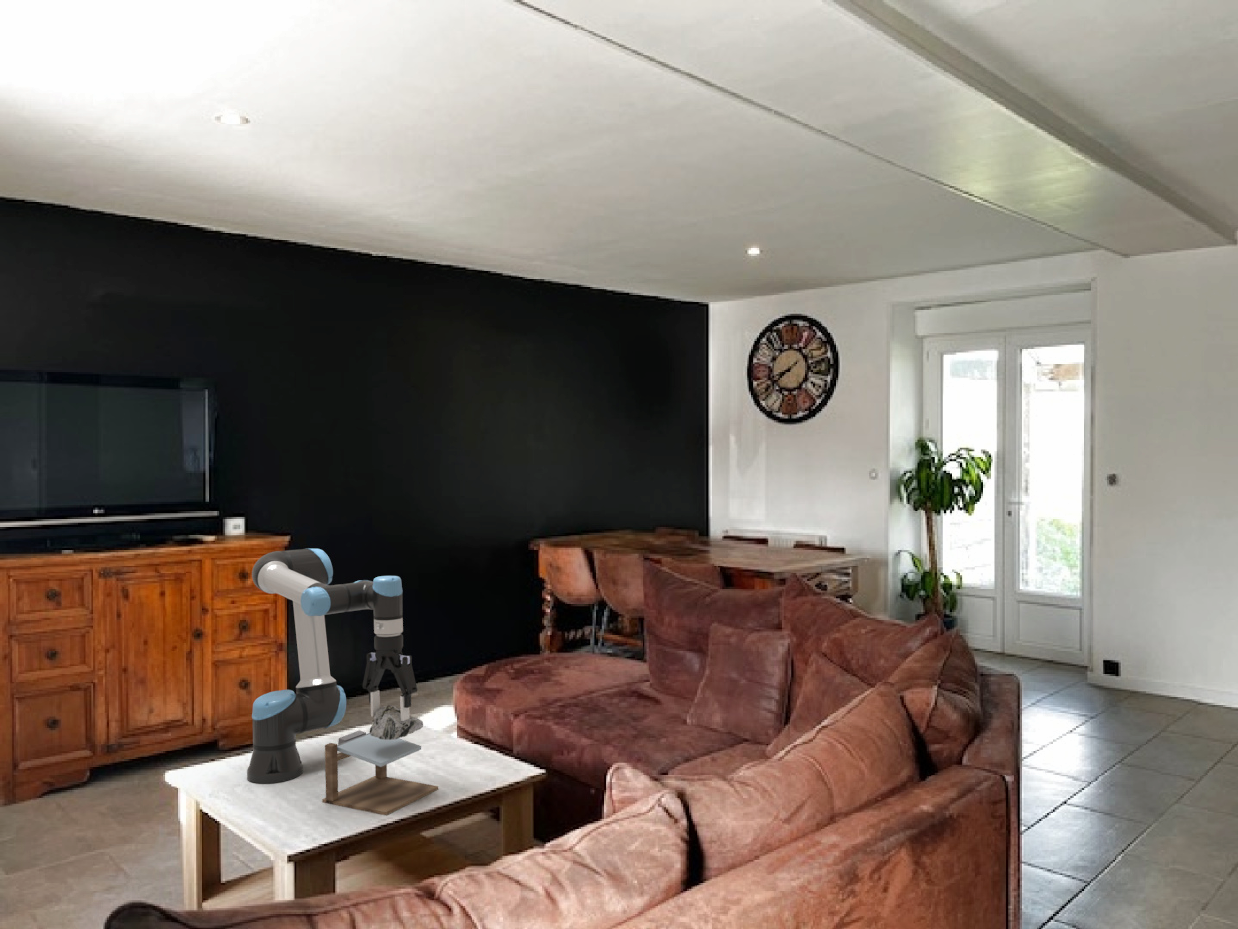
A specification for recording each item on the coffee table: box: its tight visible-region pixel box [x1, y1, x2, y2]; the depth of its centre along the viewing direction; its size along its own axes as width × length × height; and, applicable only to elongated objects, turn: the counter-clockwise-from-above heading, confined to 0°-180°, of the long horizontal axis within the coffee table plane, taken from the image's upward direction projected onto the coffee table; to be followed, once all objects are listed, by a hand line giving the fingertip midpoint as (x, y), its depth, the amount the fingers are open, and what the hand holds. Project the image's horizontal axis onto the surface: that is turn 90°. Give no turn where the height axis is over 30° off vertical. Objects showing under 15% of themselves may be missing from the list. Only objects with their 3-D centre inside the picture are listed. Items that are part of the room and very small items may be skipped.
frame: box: [321, 742, 439, 816], centre depth 252 cm, size 22×21×15 cm
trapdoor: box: [337, 729, 422, 767], centre depth 253 cm, size 19×17×2 cm
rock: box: [369, 704, 424, 740], centre depth 252 cm, size 15×10×7 cm
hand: (390, 717), depth 250 cm, fingers closed on rock, 10 cm apart
